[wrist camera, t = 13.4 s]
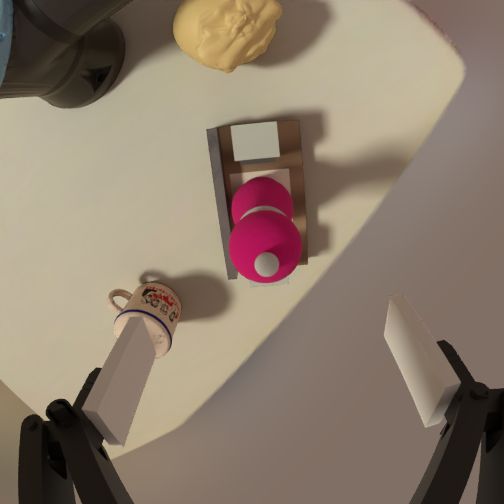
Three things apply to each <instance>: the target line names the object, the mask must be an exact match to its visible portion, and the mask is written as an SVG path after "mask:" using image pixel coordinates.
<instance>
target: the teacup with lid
mask: <svg viewBox="0 0 504 504" xmlns="http://www.w3.org/2000/svg"><path fill="white" fill-rule="evenodd" d="M114 296H122V297H124V298H126V299H127V300H129V301H128V303H127V305H126V306H125V308H124V309H122V308H121V307H119V306H118V305H117V304H116V303H115V302H114V300H113V297H114ZM107 303H108V305H109V307H110V308H111V309H112V310H113V311H114V312H115V313H117V314H118V316H117V318H116V319H115V322H114V334H115V337H116V339H118V338H119V336H120V334H121V332H122V330H123V329H124V327H125V325H126V323H127V322H128V320H129V318H130V317H131V316H143V319H144V322H145V324H146V327H147V330H148V333H149V335H150V338H151V341H152V343H153V346H154V349H155V351H156V357H155V359H157V358H160V357H162V356H164V355H165V354H166V353H167V352H168V351H169V349H170V348H171V345H172V337H173V334H174V331H175V329H176V326H177V323H178V320H179V317H180V315H181V303H180V300H179V298H178V297H177V295H176V294H175V293H174V292H173V291H172V290H171V289H170V288H168V287H166V286H164V285H162V284H159V283H146V284H143V285H141V286H139V287H138V288H137V289H136V290H135V292H134V293H133V295H132V294H131V293H129V292H128V291H126V290H123V289H115V290H113V291H111V292H110V293H109V295H108V297H107Z"/></svg>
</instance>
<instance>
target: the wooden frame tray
mask: <svg viewBox="0 0 504 504" xmlns="http://www.w3.org/2000/svg"><path fill="white" fill-rule="evenodd" d="M276 122H277V131H278V142H279V152H280V157H275V160H276V162H268V163H258V164H248V165H240V161H235V159H234V151H233V143H232V135H231V126H227V127H219V133H220V141H221V149H222V157H223V164H224V172H225V180H226V187H227V195H228V202H229V210H230V217H231V224H232V231H233V229H234V227H235V225H236V224H235V223H234V220H233V217H232V201H233V198H234V195H235V194H236V192H237V190H238V189H239V188H240V187H241V186H242V185H243V184H245V183H246V182H247V181H248V180H250V179H252V178H255V177H261V176H263V177H269V178H272V179H274V180H275V181H277V182H279V183H280V184H282V185H283V186H284V187H285V188H286V189H287V190H288V192H289V194H290V195H291V198H292V201H293V209H294V212H293V217H292V222H293V223H294V224H295V226H296V227H297V229H298V231H299V233H300V235H301V240H302V254H301V258H300V260H299V263H298V265H307V264H308V255H307V230H306V210H305V193H304V177H303V163H302V151H301V139H300V127H299V120H289V121H276Z"/></svg>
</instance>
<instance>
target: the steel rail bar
mask: <svg viewBox="0 0 504 504" xmlns="http://www.w3.org/2000/svg"><path fill="white" fill-rule="evenodd" d="M206 131H207V138H208V146H209V153H210V161H211V168H212V175H213V182H214V189H215V196H216V203H217V210H218V217H219V224H220V230H221V237H222V243H223V250H224V256H225V262H226V269H227V275H228V280H229V279H237V275H238V271H237V269H236V268H235V267H234V265H233V263H232V261H231V258H230V254H229V239H230V235H231V232H232V224H231V217H230V210H229V202H228V195H227V187H226V180H225V172H224V164H223V157H222V149H221V141H220V133H219V128H212V129H206Z"/></svg>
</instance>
